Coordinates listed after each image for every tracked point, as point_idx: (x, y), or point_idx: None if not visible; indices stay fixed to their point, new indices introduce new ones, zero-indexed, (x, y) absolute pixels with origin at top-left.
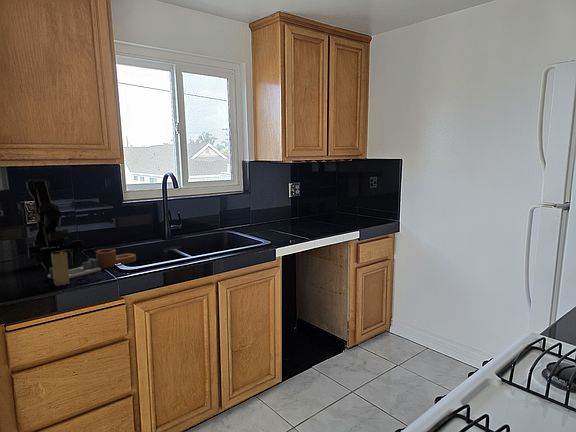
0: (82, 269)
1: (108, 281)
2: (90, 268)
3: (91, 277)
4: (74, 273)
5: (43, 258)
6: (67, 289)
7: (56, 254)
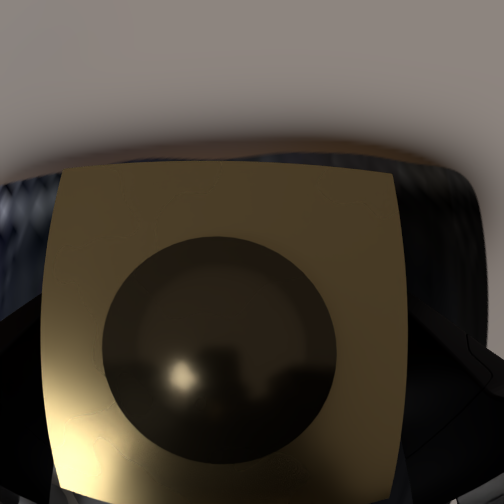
0: (72, 491)
1: (28, 186)
2: None
3: None
4: None
5: (474, 360)
6: None
7: (318, 169)
